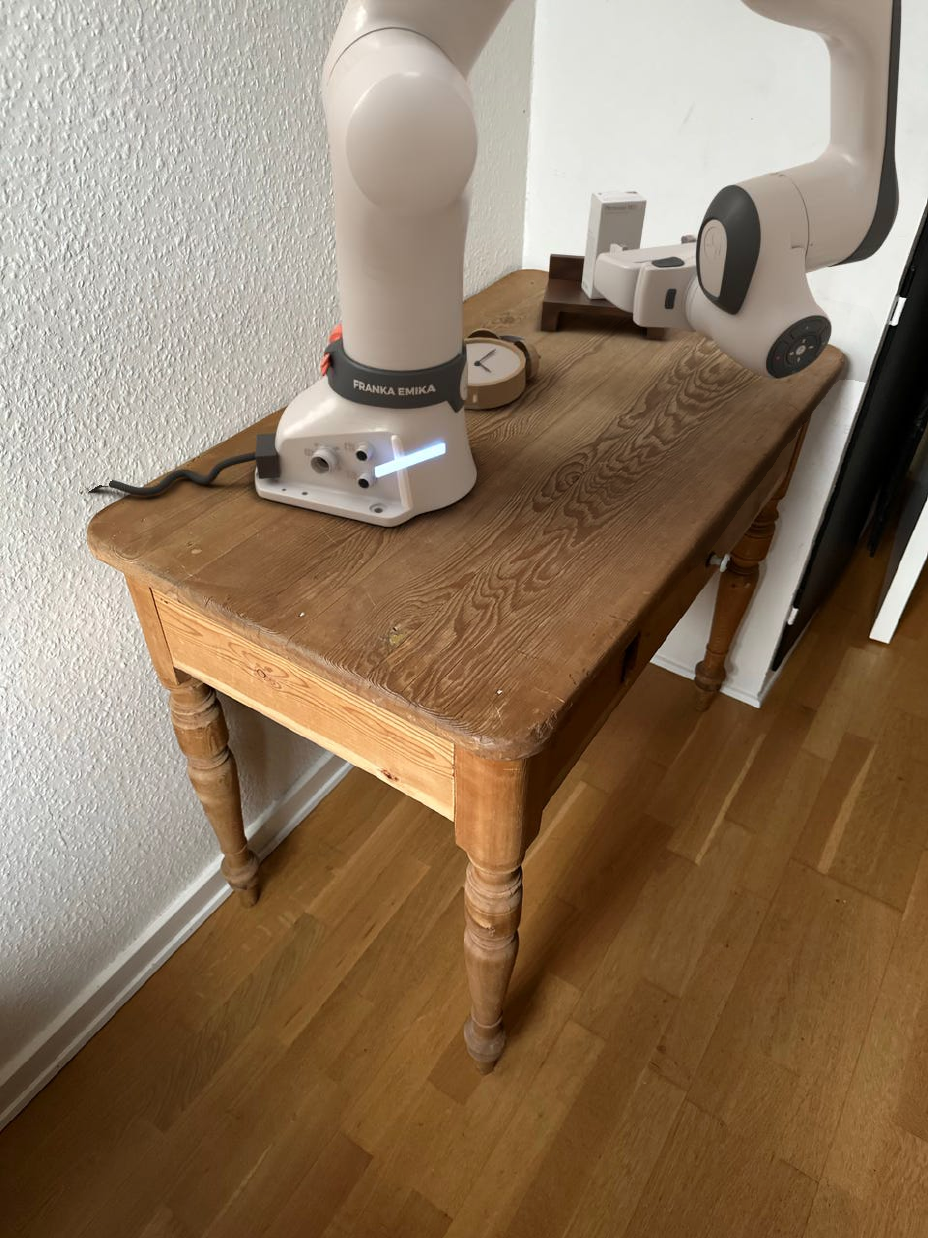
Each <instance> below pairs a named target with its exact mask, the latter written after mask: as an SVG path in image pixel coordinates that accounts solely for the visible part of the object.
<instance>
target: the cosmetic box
mask: <svg viewBox="0 0 928 1238" xmlns="http://www.w3.org/2000/svg"><path fill="white" fill-rule="evenodd" d="M589 207H590V208H589V216H588V224H587V233H586V240H585V241H586V242H585V250H584V251H585V252H584V256H585V259H584V269H583V278H582V289H583V290H584V292H585V293H586V294H587V296H588V297H589V298H590V299H602V298H605V297H604V296H603V295H602V294H600V293H599V292H598V291H597V289H596V288H595V286H594V271H595V264H596V260H597V258H598V256H599V255H600V254H602V253H607V252H610V246H611V244H616V243H624V244H625V245H627V246H628V247H629V248H628V250H634V249H641V243H642V242H641V241H642V235H643V228H644V222H645V216H646V208H647V199H646V198H644V197H643V196H642V195H640V193H638V192H637V191H636V190H634V191H633V190H631V191H630V190H629V191H628V190H627V191H620V190H618V191H616V190H615V191H614V190H613V191H598V192H597V191H595V192H591V197H590V206H589Z"/></svg>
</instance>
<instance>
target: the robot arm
mask: <svg viewBox="0 0 928 1238" xmlns="http://www.w3.org/2000/svg"><path fill="white" fill-rule="evenodd" d="M514 2H515V0H347V1H346V3H345V6H344V9H343V12H342V15H341V17H340V19H339V22H338V26H337V28H336V31H335V33H334V36H333V38H332V42H331V44H330V47H329V50H328V53H327V56H326V59H325V61H324V65H323V67H322V73H321V79H320V80H321V81H320V95H321V96H320V97H321V104H322V107H323V111H324V112H323V113H324V118H325V123H326V130H327V135H328V142H329V150H330V151H329V152H330V163H331V176H332V177H331V178H332V179H331V180H332V191H333V192H332V193H333V209H334V210H333V211H334V229H335V249H336V250H335V251H336V254H335V255H336V256H335V257H336V268H337V269H336V270H337V272H336V273H337V285H338V296H339V307H340V309H339V310H340V321H341V324H338V325H336V326H335V328H334V329H333V330H332V333H331V334H330V335H329V338H328V342H329V344H328V345H327V346H326V347H325V349H324V351H323V359H322V360H321V362H320V368H321V377H322V378H320V379H319V380H318V381H316V382H315V383H313V384H312V385H310V386H309V387H307V388H306V389H304V390H303V391H301V392H300V393H299V394H297V395H296V396H295V397H294V398H293V399H292V400H291V402H290V403H289V404H288V405H287V407H286V408H285V410H284V412H283V413H282V415H281V417H280V420H279V422H278V425H277V427H276V428H277V429H276V432H271V433H257V434H256V439H255V441H256V442H255V451H251V452H248V453H243V454H238V455H235V456H231V457H229V458H226V459H223V460H221V461H220V462H218V463H217V464H215V465H214V466H213V467H212V469H211V470H210V471H209V473H208V474H207V475H204V476H203V475H201V474H198V472H195V471H193V470H190V469H185V468H182V469H177V470H174V471H172V472H170V473H169V474H167V475H166V476H165V477H164V478H163V479H162V480H161V481H159V482H158V483H157V484H155V485H153V486H147V487H139V486H134V485H130V484H127V483H124V482H121V481H119V480H115V479H112V481H110V483H109V486H110V487H108V486H102V485H99V486H97V487H95V488H94V489H92V490H91V491H89V492H88V493H87V494H94V493H96V492H97V491H98V490H100V489H102V488H110V489H115V490H118V491H120V492H122V493H123V492H124V493H127V494H130V495H133V496H140V497H149V496H154V495H157V494H160V493H162V492H163V491H165V490H166V489H167V488H168V487H169V486H171V484H172V483H173V482H174V481H176V480H178V479H181V478H187V479H189V480H192V481H193V482H195V483H197V484H200V485H203V486H204V485H210V484H212V483H213V482H215V480H216V479H217V478H218V477H219V475H220V473H222V471H224V470H226V469H228V468H231V467H232V466H233V467H234V466H237V465H241V464H245V463H249V462H254V461H255V463H256V467H255V472H254V485H255V490H256V492H257V494H258V496H259V497H260V498H262V499H266V500H270V501H273V502H277V503H278V502H279V503H283V504H286V505H291V506H296V507H300V508H303V509H307V510H313V511H317V512H322V513H325V514H329V515H334V516H338V517H343V518H347V519H350V520H351V519H352V520H356V521H359V522H363V523H368V524H372V525H375V526H380V527H386V528H387V527H388V528H390V527H391V528H392V527H397V526H399V525H401V524H403V523H405V522H407V521H409V520H411V519H412V518H414V517H415V516H419V515H420V514H424V513H427V512H431V511H436V510H440V509H442V508H445V507H447V506H450V505H452V504H454V503H456V502H457V501H459V500H461V499H462V498H463V497H465V496H466V495H467V494H468V493H470V491H471V490H472V489H473V487H474V486H475V483H476V482H477V477H478V472H477V471H478V470H477V467H476V464H475V461H474V458H473V455H472V450H471V446H470V440H469V435H468V430H467V421H466V412H465V409H464V404H465V401H466V398H467V389H468V360H467V346H466V343H465V341H464V339H465V338H463V328H464V327H463V325H464V324H463V319H464V318H463V317H464V265H465V253H466V252H465V251H466V242H467V237H468V231H469V224H470V217H471V209H472V203H473V193H474V191H473V190H474V183H475V173H476V172H475V171H476V162H477V157H478V152H479V151H478V150H479V119H478V111H477V106H476V102H475V99H474V96H473V92H472V91H471V89H470V87H469V84H468V82H469V79H470V77H471V75H472V72H473V71H474V69H475V67H476V65H477V63H478V62H479V60H480V57H481V56H482V54H483V52H484V51H485V49H486V47H487V46H488V44H489V42H490V40H491V39H492V37H493V36H494V33H495V32H496V30H497V29H498V27H499V26H500V23H501V22H502V20H503V19H504V17H505V15H506V14H507V12H508V10H509V9H510V7H512V4H513V3H514ZM740 2H741V3H742V4H743V5H744V6H745V7H747V8H748V9H749V10H751V11H752V12H753V13H755V14H757V15H759V16H761V17H763V18H765V19H767V20H770V21H773V22H776V23H778V24H781V25H784V26H785V25H786V26H788V27H789V26H790V27H793V28H798V29H801V30H804V31H805V30H806V31H809V32H812V33H815V34H816V35H817V36H819V37H820V38H821V39H822V41H823V42H824V44H825V46H826V49H827V52H828V55H829V65H830V69H829V70H830V71H829V73H830V75H829V76H830V81H829V84H830V86H829V87H830V88H829V91H830V92H829V95H830V97H829V99H830V100H829V102H830V103H829V105H830V106H829V109H830V110H829V141H828V144H827V146H826V147H825V149H824V151H823V152H822V153H821V154H820V155H819V156H818V157H817V158H816V159H815V160H813V161H810V162H806V163H803V164H800V165H797V166H793V167H789V168H786V169H783V170H778V171H775V172H769V173H765V174H762V175H758V176H756V177H752V178H748V179H744V180H742V181H739V182H736V183H733V184H729V185H726V186H724V187H723V188H721V189H720V190H719V191H718V192H717V193H716V195H715V196H714V197H713V198H712V200H711V202H710V204H709V206H708V207H707V209H706V211H705V213H704V215H703V218H702V221H701V223H700V226H699V228H698V229H699V230H698V232H697V235H695V234H687V235H683V236H681V238H680V243H677V244H669V245H663V246H662V245H659V246H653V247H644V248H642V247H641V248H640V249H634V250H628V248H629V247H628V246H627V245H625V244H624V243H616V244H611V246H610V252H607V253H602V254H600V255H599V256H598V258H597V260H596V264H595V271H594V286H595V288H596V289H597V291H598V292H599V293H600V294H602V295H603V296H604V297H605V298H606V299H607V300H609V301H610V302H611V303H612V304H614V305H615V306H616V307H618V308H620V309H622V310H624V311H627V312H631V313H633V317H632V320H633V322H634V323H635V324H636V325H637V326H639V327H643V328H647V327H660V328H664V329H674V330H680V331H684V332H689V333H697V334H699V336H701V337H702V338H704V339H706V340H709V341H712V342H713V343H714V344H715V346H716V347H717V349H719V350H720V352H722V353H723V354H724V355H725V356H727V357H728V358H729V359H730V360H732V361H734V362H735V363H736V364H738V365H739V366H741V367H742V368H744V369H746V370H747V371H749V372H751V373H753V374H755V375H757V376H760V377H762V378H765V379H770V380H771V379H772V380H779V379H784V378H788V377H790V376H792V375H795V374H797V373H800V372H801V371H804V370H805V369H807V368H808V367H809V366H811V365H812V364H813V363H814V362H816V360H817V359H818V358H819V357H820V356H821V354H822V353H823V352H824V350H825V349H826V348H827V346H828V344H829V343H830V340H831V337H832V331H833V326H832V321H831V319H830V317H829V315H828V314H827V313H826V312H825V310H824V309H823V308H822V307H821V306H820V305H819V304H817V301H816V300H815V298H814V296H813V293H812V291H811V288H810V286H809V282H808V277H807V274H809V273H812V272H816V271H819V270H823V269H825V268H832V267H837V266H838V267H839V266H842V265H847V264H852V263H853V264H854V263H859V262H862V261H865V260H867V259H869V258H870V257H872V256H874V255H875V254H876V253H877V252H878V251H879V250H880V249H881V247H882V246H883V244H884V243H885V241H886V240H887V238H888V237H889V234H890V233H891V231H892V229H893V227H894V224H895V223H896V220H897V216H898V213H899V205H900V187H899V178H898V173H897V164H896V163H897V161H896V135H897V134H896V133H897V114H898V98H899V97H898V96H899V80H900V79H899V77H900V58H901V57H900V56H901V37H902V0H740Z"/></svg>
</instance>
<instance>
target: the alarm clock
mask: <svg viewBox="0 0 928 1238" xmlns="http://www.w3.org/2000/svg"><path fill="white" fill-rule="evenodd" d="M463 339H464V341H465V343H466V346H467V360H468V389H467V398H466V401H465V404H464V410H485V409H486V410H487V409H494V408H498V407H501V406H504V405H508V404H509V403H511V402H513V401H514V400H516V399H517V398H519V397H520V395H522V393H523V392H524V391H525V387H526V381H528V380H531V379H532V378H533V377H534V376H536V374H537V373H538V372H539V371H538V370H539V368H540V359H541V358H542V355H541V354H540V353H538V351H537V348H536V346H535V345H534V343H533V342H532V341H531V340H530V339H528V338H526V337H524V336H521V335H516V334H508V333H507V334H506V333H504V334H498V333H497V332H496V331H495V330H493V329H491V328H488V327H487V328H486V327H481V328H476V329H474V330H473V331H471V332H470V333H469V334H468V335H467V338H463Z"/></svg>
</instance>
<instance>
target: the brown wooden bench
mask: <svg viewBox="0 0 928 1238" xmlns="http://www.w3.org/2000/svg"><path fill="white" fill-rule="evenodd" d="M584 259H585V255H572V254H560V253H550V255H549V263H548V264H549V267H548V278H547V282H546V287H545V291H544V295H543V299H542V305H541V318H540V319H541V320H540V331H542V332H556V331H557V327H558V322H559V317H560V312H561V313H562V312H566V313H575V314H576V313H577V314H590V315H601V316H613V317H614V316H615V317H616V316H617V317H627V318H628V317H629V318H633V313H631V312H627V311H624V310H622V309H620V308H618V307H616V306H615V305H614V304H612V303H611V302H610V301H609V300H607V299H606V298H602V299H590V298H589V297H588V296H587V294H586V293H585V292H584V290H583V289H582V278H583V269H584ZM664 331H665V328H660V327H646V340H654V341H663V337H664Z"/></svg>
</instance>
